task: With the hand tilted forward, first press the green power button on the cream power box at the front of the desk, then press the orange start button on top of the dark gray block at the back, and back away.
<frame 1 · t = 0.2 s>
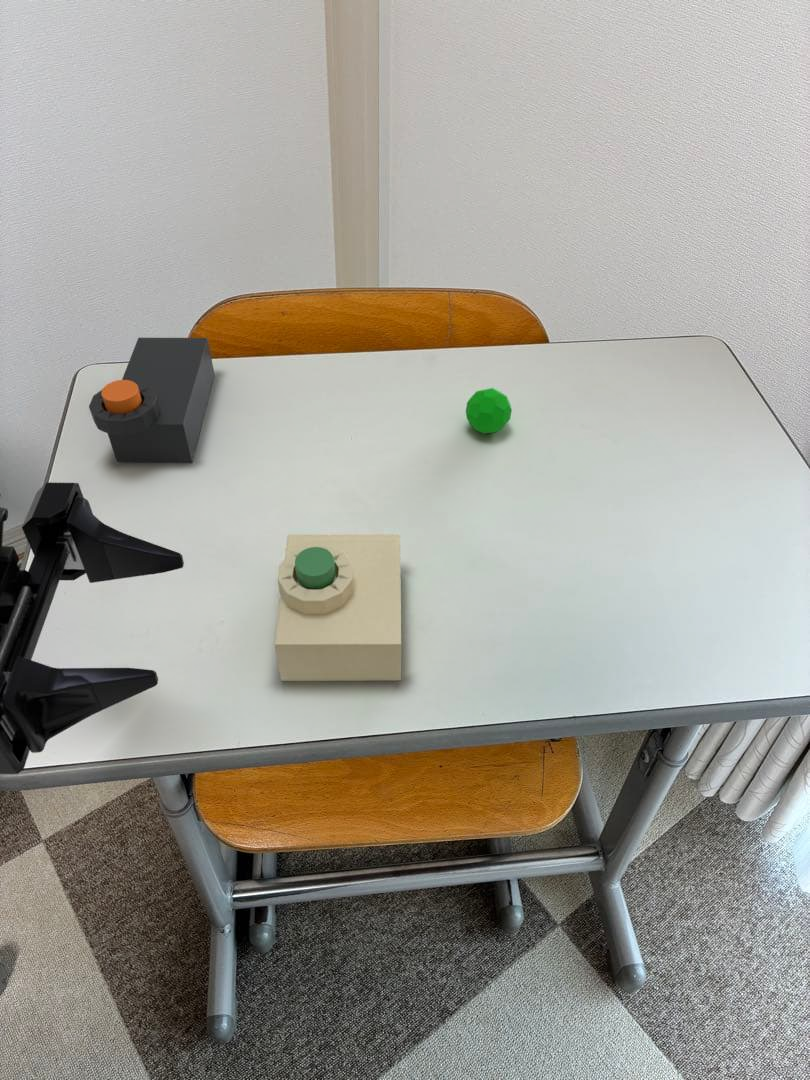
hand: (170, 615, 50), 17 cm above the table, tool horizontal, fingers open, 9 cm apart
dark gray block: (168, 416, 90), on the table
start button: (121, 397, 80), point 7 cm above the table, slide at 0.1 cm
power button: (315, 568, 65), point 7 cm above the table, slide at 0.1 cm
polyhedron: (486, 429, 90), on the table
power box: (343, 623, 71), on the table
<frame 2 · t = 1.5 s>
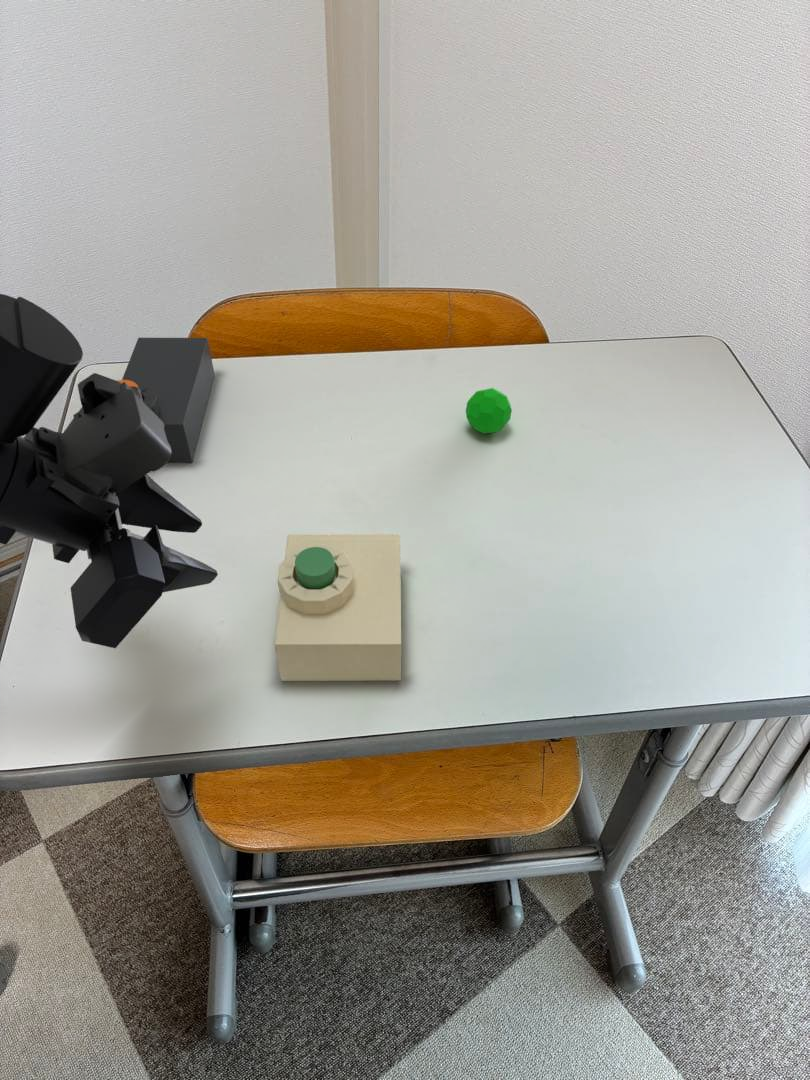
hand: (206, 551, 59), 13 cm above the table, tool tilted 45°, fingers open, 5 cm apart
nothing on the table moved.
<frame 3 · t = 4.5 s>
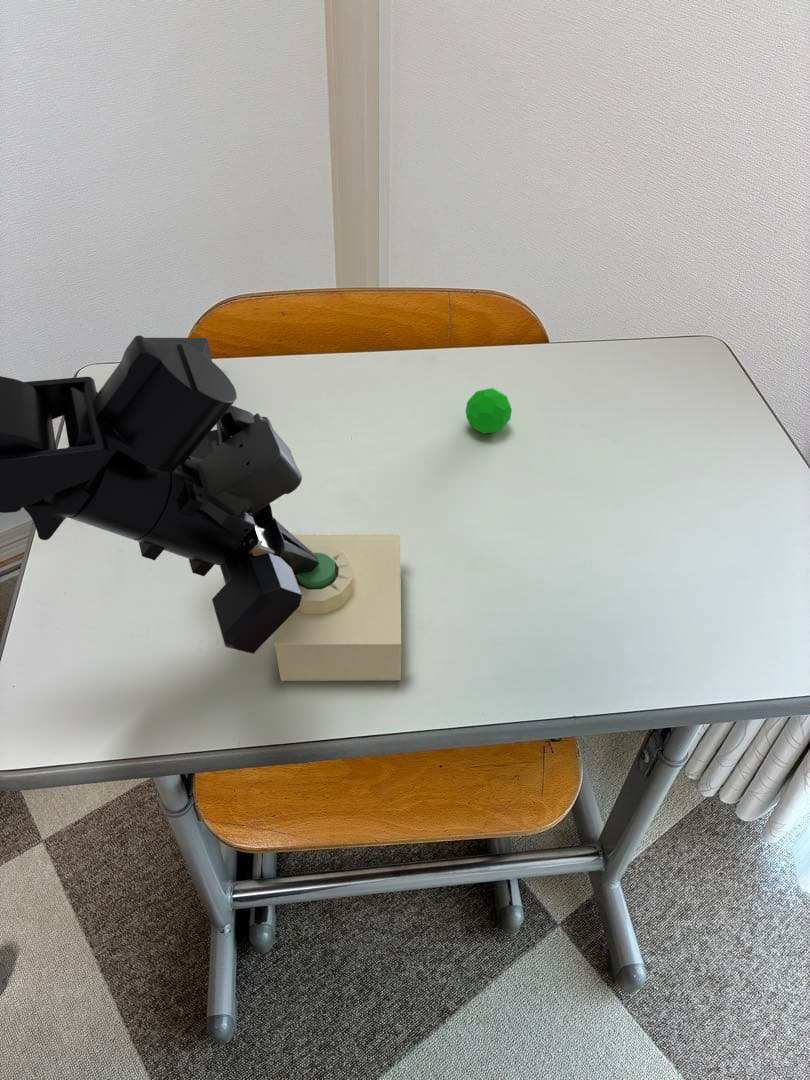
hand: (314, 564, 65), 8 cm above the table, tool tilted 45°, fingers closed, pressing on power button
power button: (315, 573, 66), point 7 cm above the table, slide at -0.6 cm, touching gripper
everything else where it was.
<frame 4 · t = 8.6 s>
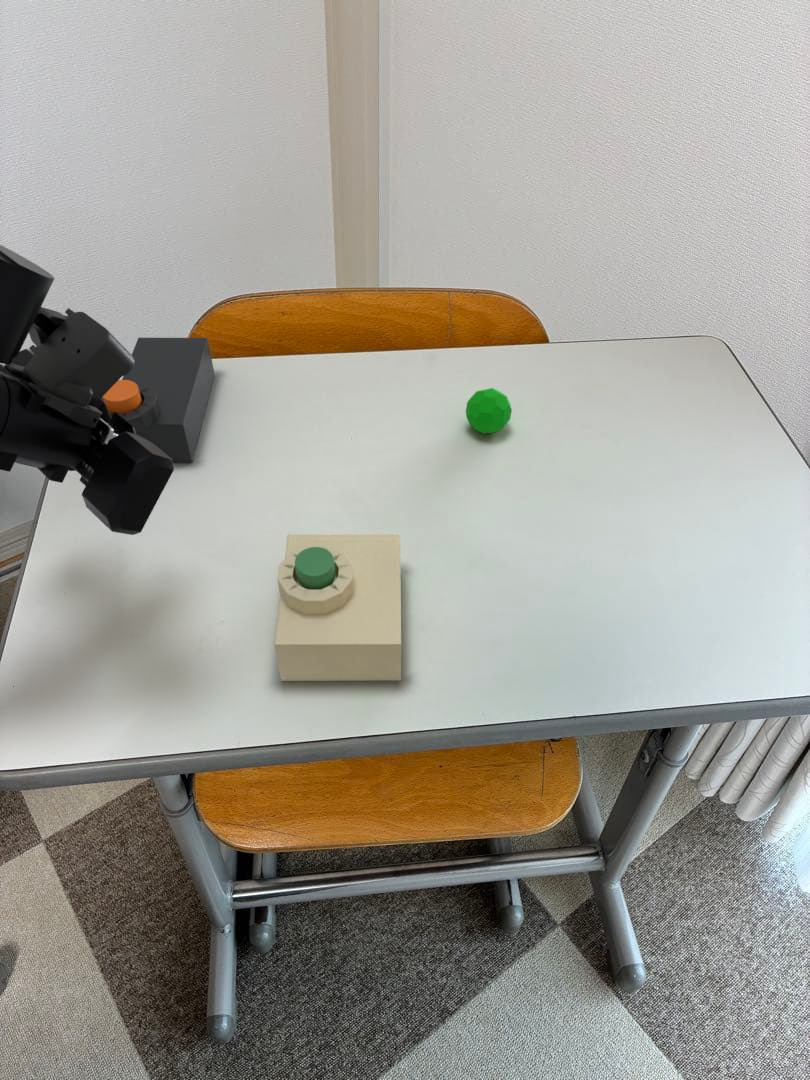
hand: (160, 460, 66), 13 cm above the table, tool tilted 45°, fingers closed
power button: (315, 568, 65), point 7 cm above the table, slide at 0.1 cm
everything else where it was.
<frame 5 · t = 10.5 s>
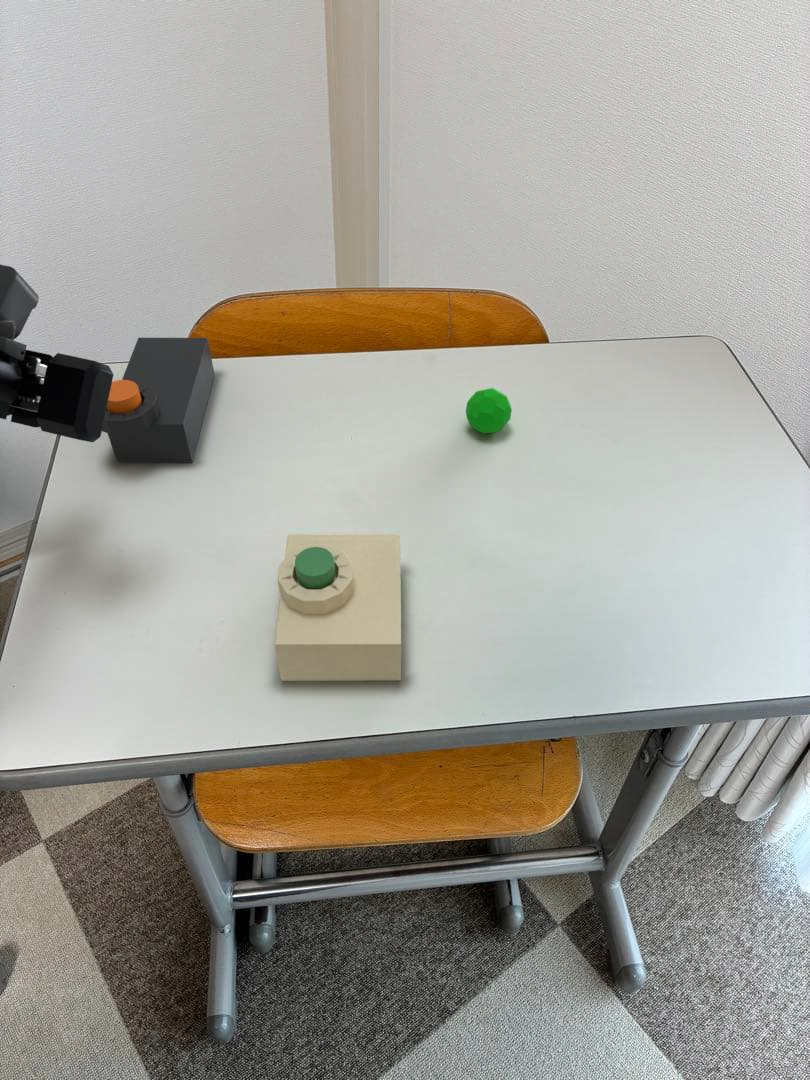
hand: (63, 398, 72), 13 cm above the table, tool tilted 45°, fingers closed
nothing on the table moved.
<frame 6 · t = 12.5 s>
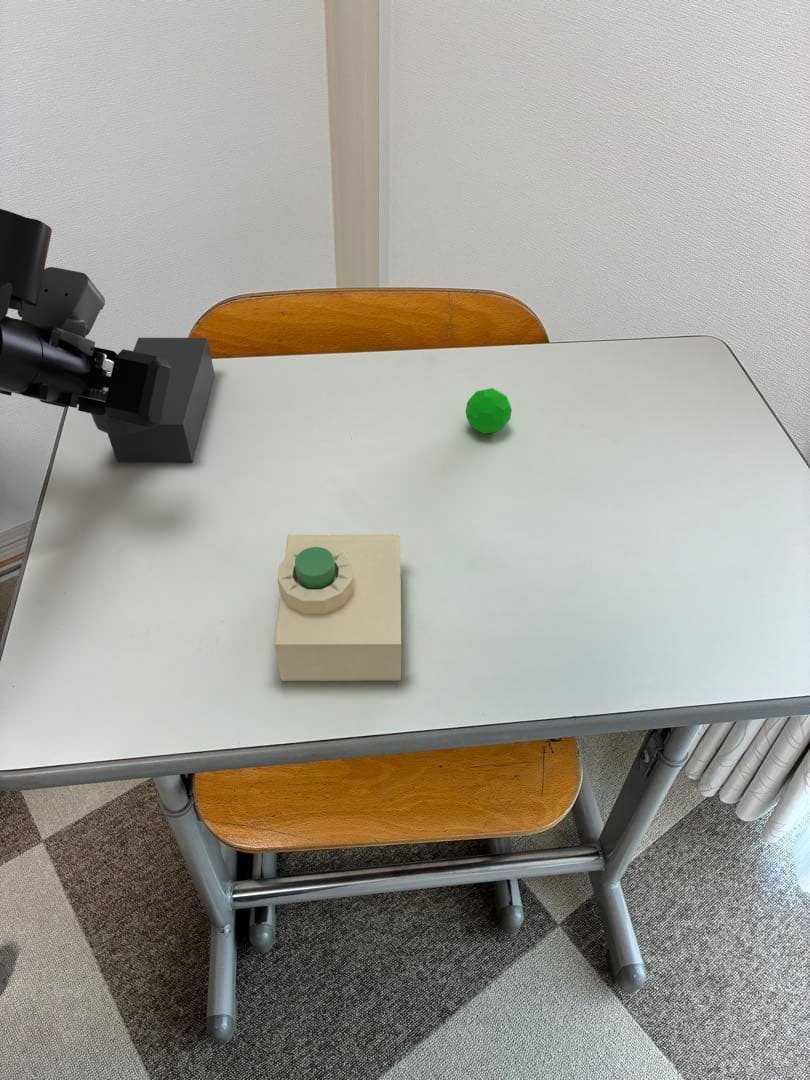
hand: (119, 390, 80), 8 cm above the table, tool tilted 45°, fingers closed, pressing on start button
start button: (122, 399, 81), point 7 cm above the table, slide at -0.2 cm, touching gripper
everything else where it was.
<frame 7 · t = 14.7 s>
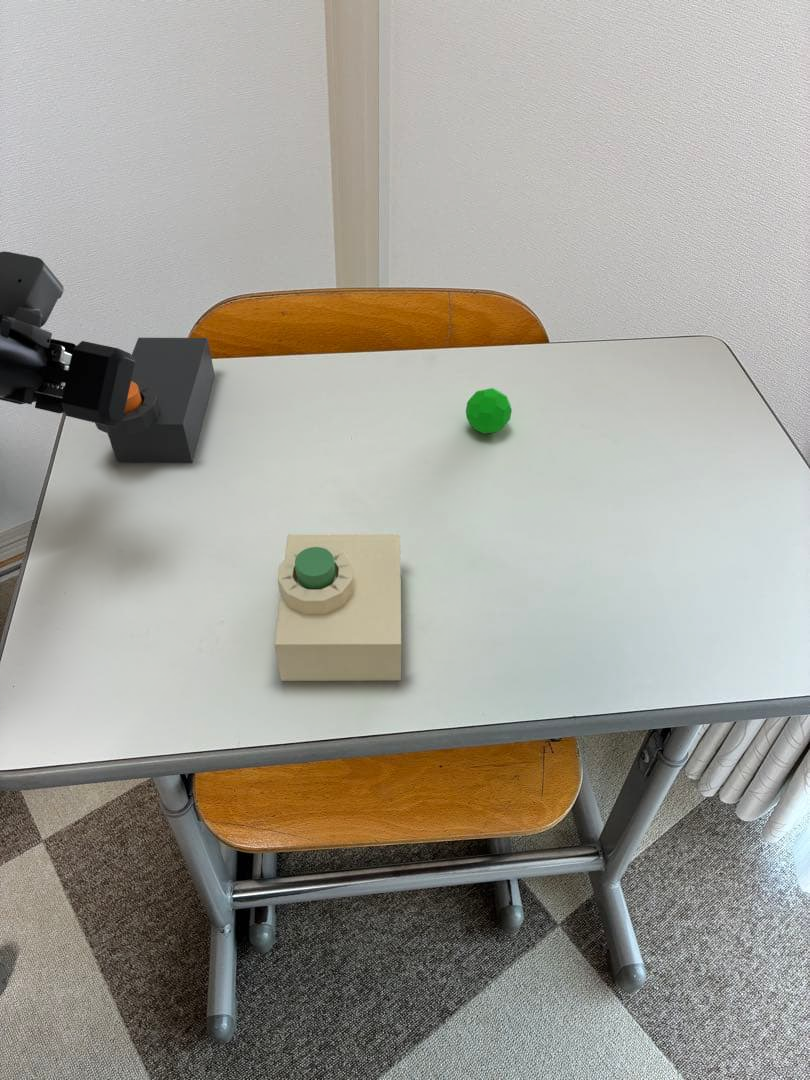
hand: (83, 387, 74), 12 cm above the table, tool tilted 45°, fingers closed
start button: (121, 397, 80), point 7 cm above the table, slide at 0.1 cm
everything else where it was.
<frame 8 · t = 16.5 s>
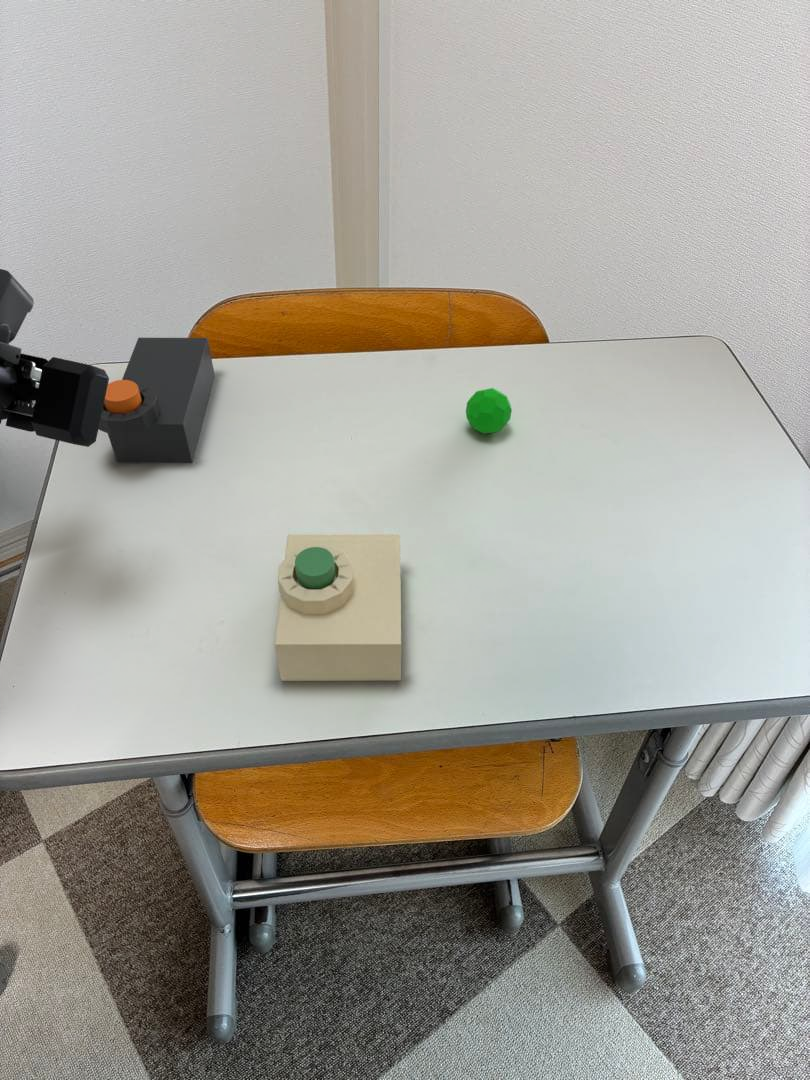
hand: (59, 401, 71), 13 cm above the table, tool tilted 45°, fingers closed
nothing on the table moved.
at the end: power button pushed in 1.3 cm at the most during the clip, back to where it started at the end; start button pushed in 1.3 cm at the most during the clip, back to where it started at the end; start button slide at 0.1 cm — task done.
